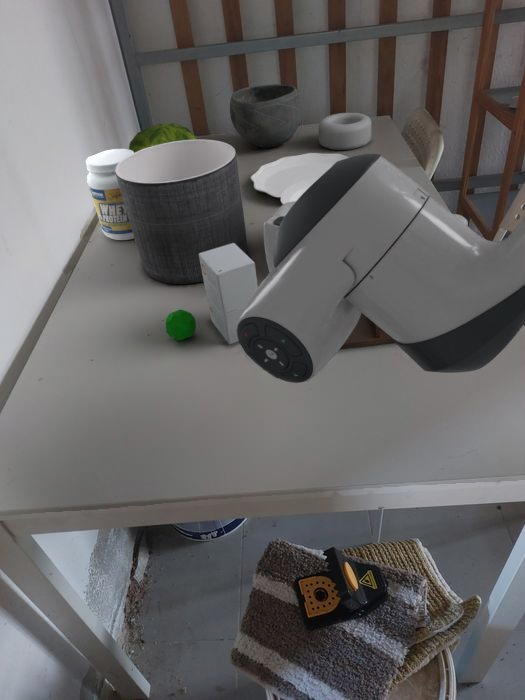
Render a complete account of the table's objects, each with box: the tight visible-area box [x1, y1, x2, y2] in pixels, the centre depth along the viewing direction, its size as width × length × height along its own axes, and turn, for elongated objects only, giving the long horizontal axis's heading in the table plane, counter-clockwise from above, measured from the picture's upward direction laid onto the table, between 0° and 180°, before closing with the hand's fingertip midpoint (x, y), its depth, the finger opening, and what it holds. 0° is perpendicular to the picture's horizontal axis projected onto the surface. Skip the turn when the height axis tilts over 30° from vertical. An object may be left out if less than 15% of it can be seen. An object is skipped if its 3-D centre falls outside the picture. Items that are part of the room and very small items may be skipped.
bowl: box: [229, 83, 303, 149], centre depth 153 cm, size 21×21×15 cm
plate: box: [249, 152, 350, 200], centre depth 131 cm, size 29×29×2 cm
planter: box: [115, 139, 249, 285], centre depth 100 cm, size 22×22×20 cm
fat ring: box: [318, 112, 372, 151], centre depth 150 cm, size 15×15×7 cm
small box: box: [199, 243, 259, 345], centre depth 82 cm, size 8×6×13 cm
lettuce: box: [128, 122, 199, 153], centre depth 131 cm, size 18×23×19 cm
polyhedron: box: [165, 308, 197, 341], centre depth 84 cm, size 5×5×5 cm
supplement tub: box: [85, 148, 135, 241], centre depth 115 cm, size 12×12×17 cm
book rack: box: [339, 313, 396, 350], centre depth 83 cm, size 24×12×3 cm, turn 94°
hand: (384, 204), depth 60 cm, fingers open, 8 cm apart
